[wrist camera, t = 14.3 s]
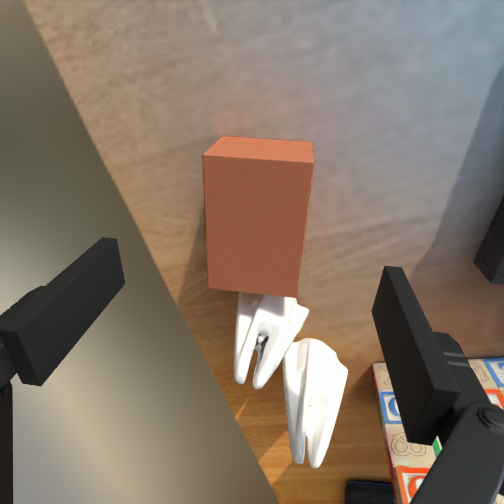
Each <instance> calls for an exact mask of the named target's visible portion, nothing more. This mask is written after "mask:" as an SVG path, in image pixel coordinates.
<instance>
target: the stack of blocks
mask: <svg viewBox="0 0 504 504" xmlns="http://www.w3.org/2000/svg"><path fill="white" fill-rule="evenodd" d="M467 360H468V362H469V363H470V367H471V368H472V369H473V371H474V372H475V374H476V376H477V378H478V380H479V381H480V383H481V385H482V387H483V389H484V390H485V392H486V394H487V396H488V398H489V399H490V401H491V403H492V404H494V405H496V406H498V407H500V408H501V409H503V410H504V357H503V358H485V359H467ZM372 366H373V376H374V385H375V390H376V401H377V408H378V413H379V418H380V423H381V427H382V432H383V438H384V443H385V448H386V453H387V459H388V464H389V469H390V475H391V480H392V485H393V490H394V494H395V501H396V504H409V503H410V501H411V500H412V498H413V496H414V495H415V493H416V491H417V490H418V488H419V486H420V485H421V483H422V481H423V480H424V478H425V476H426V474H427V473H428V471H429V469H430V468H431V466H432V464H433V463H434V461H435V459H436V458H437V456H438V454H439V453H440V451H441V449H442V447H441V444H440V441H439V438H438V436H437V437H436V439H435V441H434V443H433V444H432V446H428V445H421V444H415V443H408V442H407V439H406V436H405V432H404V428H403V425H402V421H401V417H400V414H399V410H398V406H397V403H396V399H395V395H394V392H393V388H392V385H391V381H390V377H389V374H388V370H387V366H386V363H374V364H372ZM494 504H504V496H502V495H499V494H497V497H496V499H495V502H494Z"/></svg>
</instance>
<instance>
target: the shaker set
mask: <svg viewBox="0 0 504 504" xmlns="http://www.w3.org/2000/svg"><path fill="white" fill-rule="evenodd" d="M308 314H309V310H308V309H307V308H305V307H301V306H300V305H298V304H297V301H296V298H291V297H282V296H273V295H264V294H255V293H246V292H239V299H238V308H237V317H236V329H235V346H234V379H235V381H236V382H237V383H239V384H243V383H244V382H245V379H246V376H247V373H248V368H249V365H250V361H251V357H252V355H253V350H254V349H255V350H257V351H258V357H257V362H256V367H255V371H254V376H253V387H254V388H255V389H261V388H262V387H263V386H264V385H265V383H266V382H267V381H268V380H269V378H270V377H271V376H272V374H273V373H274V371H275V370H276V368H277V367H278V365H279V364H280V362H281V360H282V367H283V382H284V394H285V405H286V414H287V423H288V432H289V440H290V450H291V454H292V457H293V460H294V461H295V462H296V463H298V464H302V463H303V461H304V453H305V442H306V437H307V448H308V459H309V463H310V466H311V467H312V468H318V467H319V466H320V465H321V463H322V461H323V459H324V456H325V454H326V451H327V449H328V446H329V443H330V439H331V436H332V432H333V429H334V425H335V422H336V418H337V414H338V411H339V407H340V404H341V400H342V396H343V392H344V388H345V384H346V380H347V375H348V369H347V368H346V367H345V366H343V365H342V364H341V363H340V362H339V361H338V359H337V355H336V352H334V351H333V350H332V349H330V348H329V347H328V346H327V345H326V344H325V343H323V342H321V341H319V340H316V339H310V338H305V339H302V340H300V341H298V342H293V341H294V339H295V337H296V335H297V334H298V332H299V330H300V328H301V327H302V325H303V323H304V321H305V319H306V317H307V316H308Z"/></svg>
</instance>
